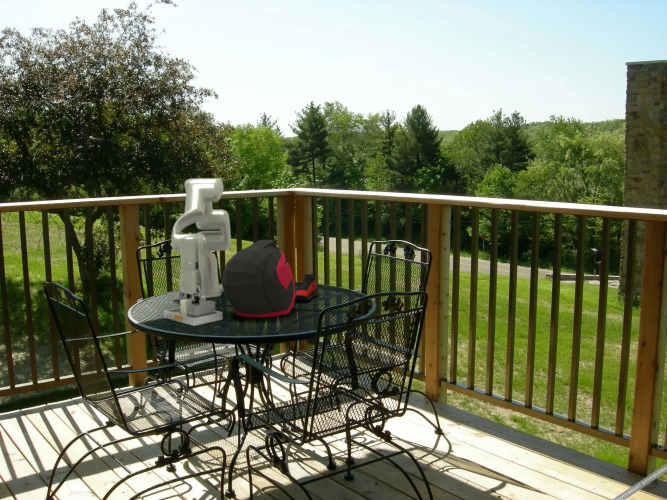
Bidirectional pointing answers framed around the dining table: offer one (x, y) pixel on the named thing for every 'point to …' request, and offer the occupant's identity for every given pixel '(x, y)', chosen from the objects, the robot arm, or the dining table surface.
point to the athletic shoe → (307, 289)
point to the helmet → (259, 281)
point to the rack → (195, 314)
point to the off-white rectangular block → (185, 304)
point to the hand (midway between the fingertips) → (192, 309)
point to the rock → (181, 294)
